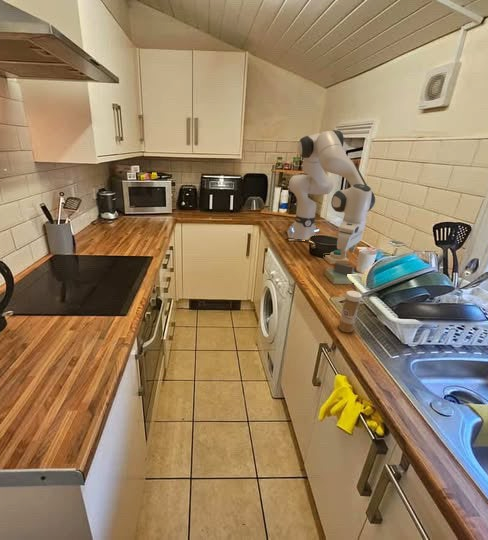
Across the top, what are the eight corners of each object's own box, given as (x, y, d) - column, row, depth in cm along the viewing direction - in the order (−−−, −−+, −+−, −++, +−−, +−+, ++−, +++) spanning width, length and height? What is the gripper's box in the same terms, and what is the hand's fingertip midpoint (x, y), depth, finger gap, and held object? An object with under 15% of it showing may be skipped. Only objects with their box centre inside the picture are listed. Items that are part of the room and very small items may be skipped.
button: (332, 253, 158) (332, 250, 157) (338, 253, 158) (339, 250, 158) (335, 255, 155) (335, 252, 154) (341, 255, 155) (342, 252, 154)
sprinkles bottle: (336, 329, 99) (344, 293, 94) (341, 323, 103) (349, 288, 97) (350, 334, 97) (359, 298, 91) (354, 329, 100) (364, 293, 95)
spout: (333, 271, 137) (335, 262, 135) (335, 270, 139) (336, 261, 137) (350, 276, 132) (353, 267, 131) (352, 275, 134) (354, 266, 132)
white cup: (374, 275, 142) (379, 255, 138) (356, 273, 143) (361, 253, 139) (369, 268, 149) (374, 250, 145) (352, 267, 150) (357, 248, 146)
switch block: (322, 257, 162) (324, 250, 161) (340, 257, 163) (342, 250, 161) (330, 264, 153) (331, 257, 152) (349, 264, 154) (350, 257, 152)
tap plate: (323, 273, 142) (324, 267, 141) (348, 273, 143) (349, 267, 141) (333, 285, 131) (335, 278, 129) (361, 285, 131) (362, 278, 130)
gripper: (354, 219, 136) (348, 247, 141) (337, 227, 122) (330, 259, 127) (369, 221, 132) (362, 251, 137) (352, 230, 118) (345, 263, 123)
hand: (347, 255), depth 132 cm, fingers open, 8 cm apart
